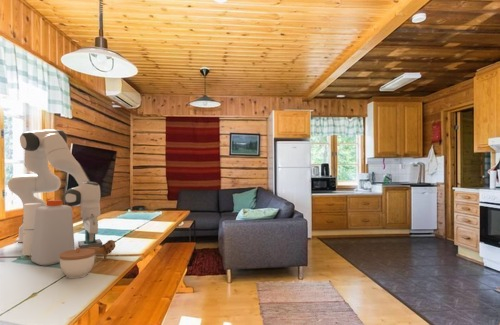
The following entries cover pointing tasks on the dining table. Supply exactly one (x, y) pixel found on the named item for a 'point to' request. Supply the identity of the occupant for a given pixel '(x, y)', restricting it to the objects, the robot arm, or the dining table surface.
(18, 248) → the dining table surface
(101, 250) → the lion figurine
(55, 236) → the plastic bottle
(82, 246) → the bore block
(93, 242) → the teal pin
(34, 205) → the cylindrical container
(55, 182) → the robot arm
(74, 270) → the lidded bowl
